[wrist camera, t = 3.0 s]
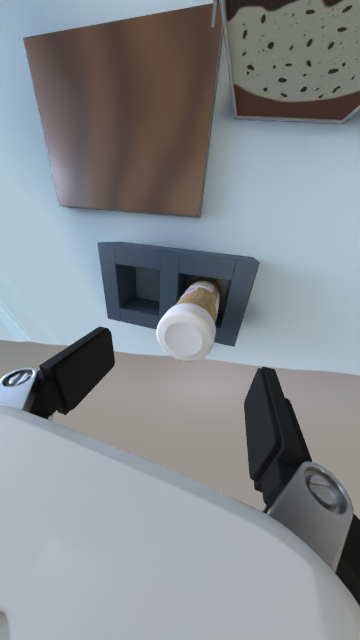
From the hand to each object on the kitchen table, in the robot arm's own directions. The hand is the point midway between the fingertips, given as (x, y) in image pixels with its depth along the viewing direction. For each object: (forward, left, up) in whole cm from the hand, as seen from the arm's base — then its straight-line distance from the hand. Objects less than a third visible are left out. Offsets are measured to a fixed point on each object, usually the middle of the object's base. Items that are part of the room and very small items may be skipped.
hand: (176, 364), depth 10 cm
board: (-12, +16, -16) cm, 26 cm away
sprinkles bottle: (0, 0, -16) cm, 16 cm away
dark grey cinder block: (-4, 0, -16) cm, 16 cm away
